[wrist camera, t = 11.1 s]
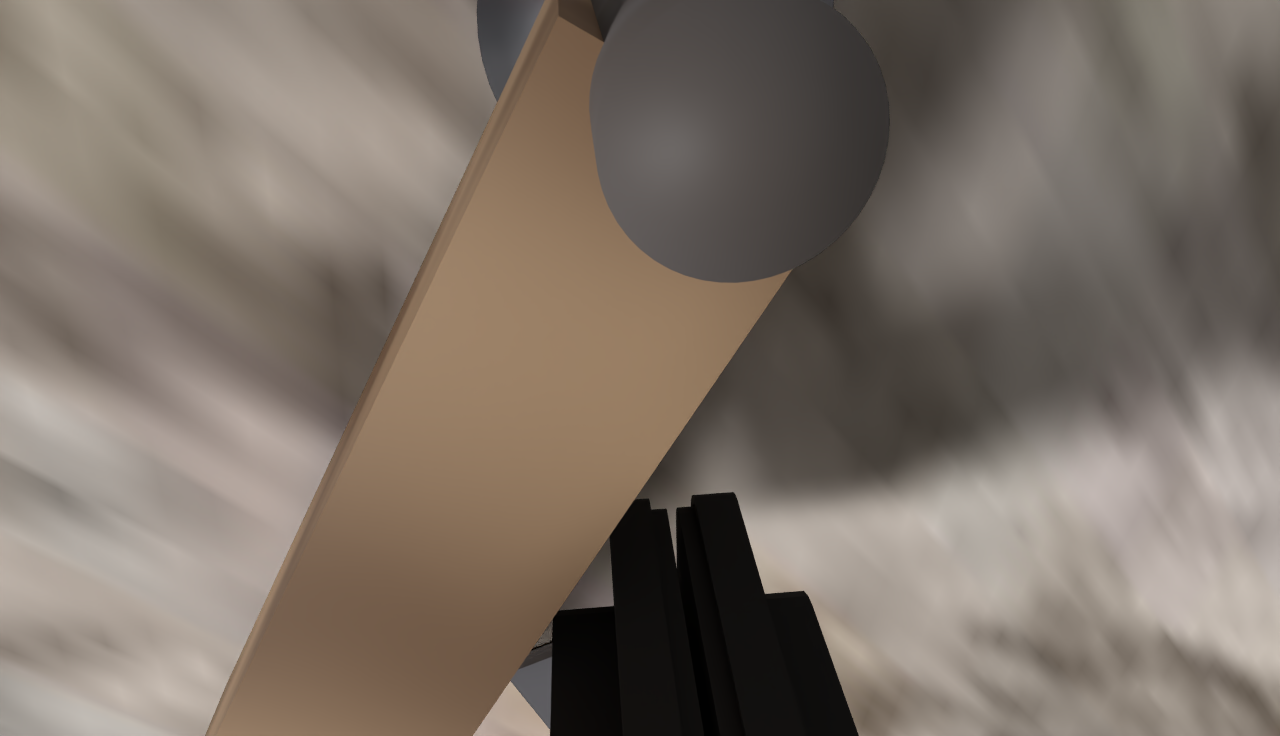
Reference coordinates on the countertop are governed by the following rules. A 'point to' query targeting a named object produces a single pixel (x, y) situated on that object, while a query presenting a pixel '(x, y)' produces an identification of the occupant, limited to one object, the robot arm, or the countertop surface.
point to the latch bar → (558, 347)
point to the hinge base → (508, 35)
